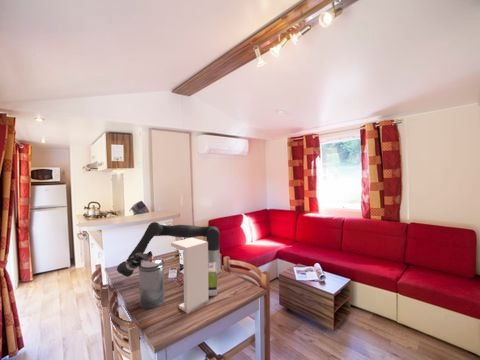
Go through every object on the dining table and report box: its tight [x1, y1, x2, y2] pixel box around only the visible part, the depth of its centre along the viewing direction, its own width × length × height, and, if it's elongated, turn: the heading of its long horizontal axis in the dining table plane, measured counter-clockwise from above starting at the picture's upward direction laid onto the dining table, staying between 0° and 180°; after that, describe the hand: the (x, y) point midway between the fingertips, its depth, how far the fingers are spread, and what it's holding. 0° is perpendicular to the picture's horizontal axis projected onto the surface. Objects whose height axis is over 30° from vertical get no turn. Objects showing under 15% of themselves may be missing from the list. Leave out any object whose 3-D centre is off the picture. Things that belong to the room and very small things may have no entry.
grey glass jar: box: [137, 261, 165, 310], centre depth 127 cm, size 14×14×21 cm
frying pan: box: [157, 253, 180, 263], centre depth 189 cm, size 32×13×6 cm, turn 127°
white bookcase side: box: [170, 237, 210, 314], centre depth 126 cm, size 15×14×34 cm
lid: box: [135, 252, 162, 269], centre depth 131 cm, size 24×11×4 cm, turn 47°
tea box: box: [208, 262, 218, 297], centre depth 141 cm, size 15×10×15 cm, turn 5°
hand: (144, 254), depth 133 cm, fingers open, 8 cm apart
